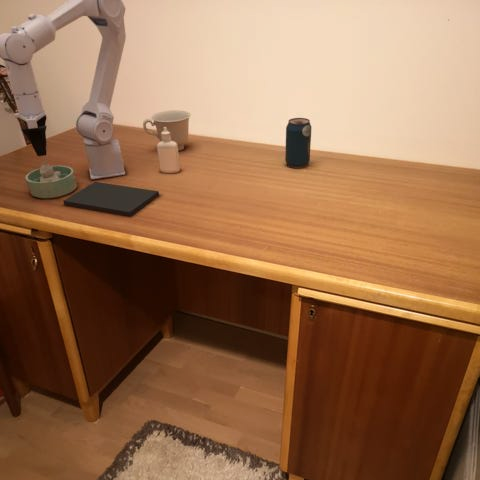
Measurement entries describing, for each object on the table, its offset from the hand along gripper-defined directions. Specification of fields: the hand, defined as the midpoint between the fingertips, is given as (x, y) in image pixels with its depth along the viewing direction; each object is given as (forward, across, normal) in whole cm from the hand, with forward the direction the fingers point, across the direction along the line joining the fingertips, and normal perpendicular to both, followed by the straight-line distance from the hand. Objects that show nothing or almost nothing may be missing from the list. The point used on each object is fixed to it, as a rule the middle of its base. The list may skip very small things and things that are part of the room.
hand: (42, 150), depth 118 cm
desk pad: (+10, +13, +14) cm, 22 cm away
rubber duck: (+10, 0, 0) cm, 10 cm away
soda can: (+10, +9, +67) cm, 69 cm away
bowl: (+10, 0, 0) cm, 11 cm away
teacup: (+10, -20, +36) cm, 43 cm away
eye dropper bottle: (+10, -1, +32) cm, 34 cm away
